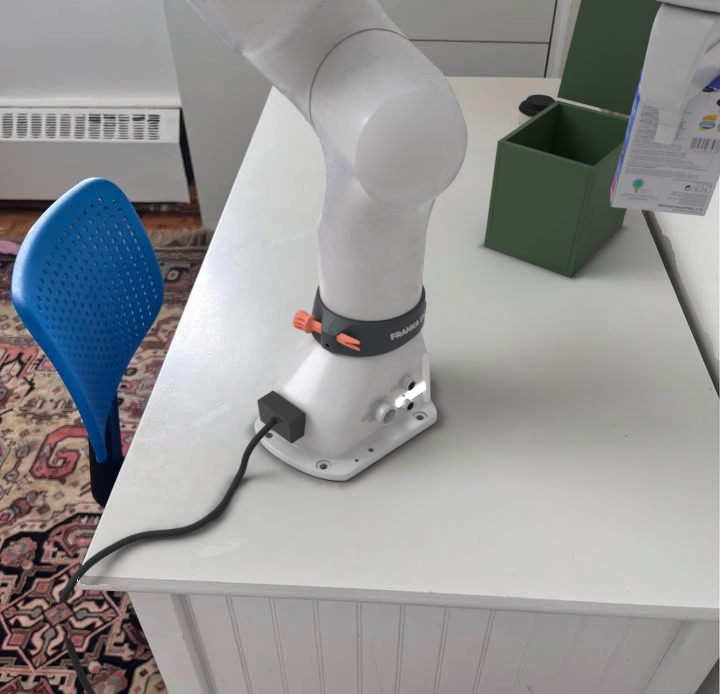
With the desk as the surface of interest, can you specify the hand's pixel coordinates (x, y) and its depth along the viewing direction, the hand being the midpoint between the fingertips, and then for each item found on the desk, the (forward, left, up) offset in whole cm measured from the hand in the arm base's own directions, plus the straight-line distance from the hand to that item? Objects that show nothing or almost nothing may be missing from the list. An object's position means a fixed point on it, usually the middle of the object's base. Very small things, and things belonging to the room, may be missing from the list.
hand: (680, 128), depth 71 cm
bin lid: (+31, +19, -3) cm, 37 cm away
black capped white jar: (+43, +35, -28) cm, 63 cm away
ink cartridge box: (0, 0, -8) cm, 8 cm away
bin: (+21, +19, -28) cm, 40 cm away
